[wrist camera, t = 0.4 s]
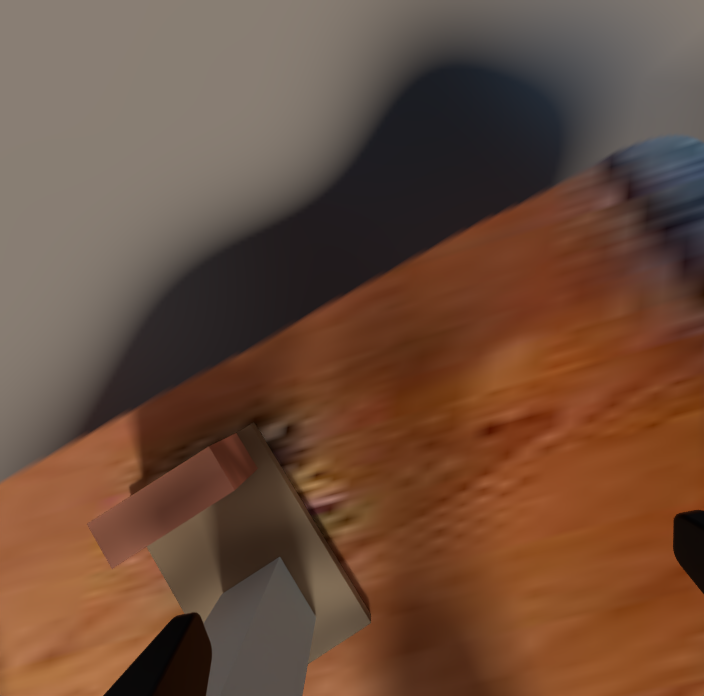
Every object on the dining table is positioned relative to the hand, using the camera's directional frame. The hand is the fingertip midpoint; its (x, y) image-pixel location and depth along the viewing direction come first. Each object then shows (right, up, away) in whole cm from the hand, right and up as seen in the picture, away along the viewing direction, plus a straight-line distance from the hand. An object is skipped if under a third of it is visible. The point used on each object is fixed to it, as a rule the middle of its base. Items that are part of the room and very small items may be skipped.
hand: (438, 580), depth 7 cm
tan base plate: (-8, -8, +16) cm, 20 cm away
